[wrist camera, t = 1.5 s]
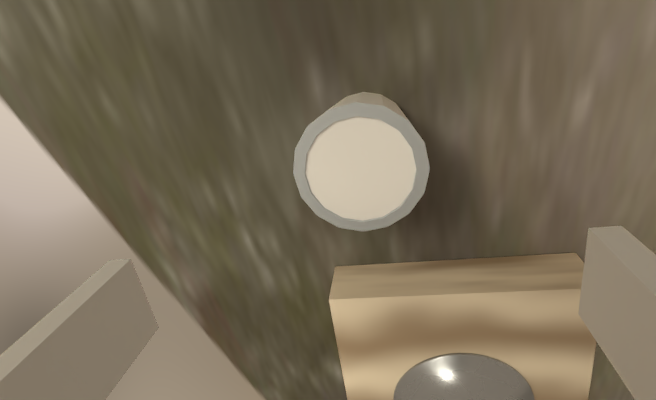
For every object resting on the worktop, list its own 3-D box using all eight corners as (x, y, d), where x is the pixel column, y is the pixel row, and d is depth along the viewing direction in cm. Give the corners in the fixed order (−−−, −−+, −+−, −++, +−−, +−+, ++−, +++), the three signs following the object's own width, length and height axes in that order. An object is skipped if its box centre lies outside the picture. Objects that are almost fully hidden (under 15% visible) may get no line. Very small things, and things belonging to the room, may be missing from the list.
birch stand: (335, 266, 31) (328, 301, 27) (575, 252, 28) (606, 289, 24) (365, 439, 38) (363, 485, 35) (554, 444, 35) (575, 494, 32)
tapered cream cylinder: (435, 159, 26) (451, 203, 20) (342, 198, 28) (330, 250, 22) (392, 61, 24) (395, 76, 18) (295, 111, 26) (267, 140, 20)
